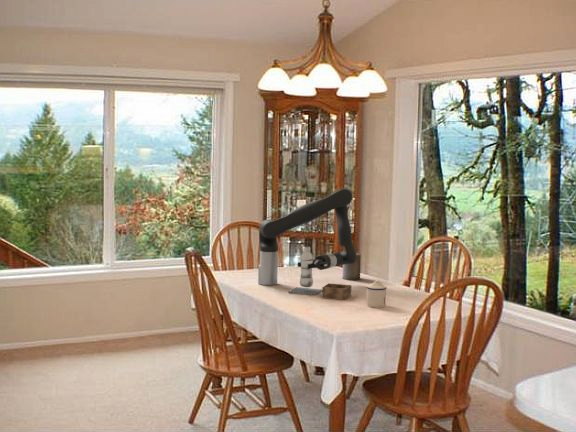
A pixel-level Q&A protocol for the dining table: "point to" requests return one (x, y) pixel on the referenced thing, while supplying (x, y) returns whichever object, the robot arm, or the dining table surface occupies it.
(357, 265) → the pillar candle
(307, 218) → the robot arm
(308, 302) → the dining table surface
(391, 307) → the dining table surface
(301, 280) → the silver aluminum bottle
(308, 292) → the rubber mat
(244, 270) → the dining table surface
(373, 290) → the teacup with lid
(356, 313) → the dining table surface
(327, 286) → the walnut sleeve
